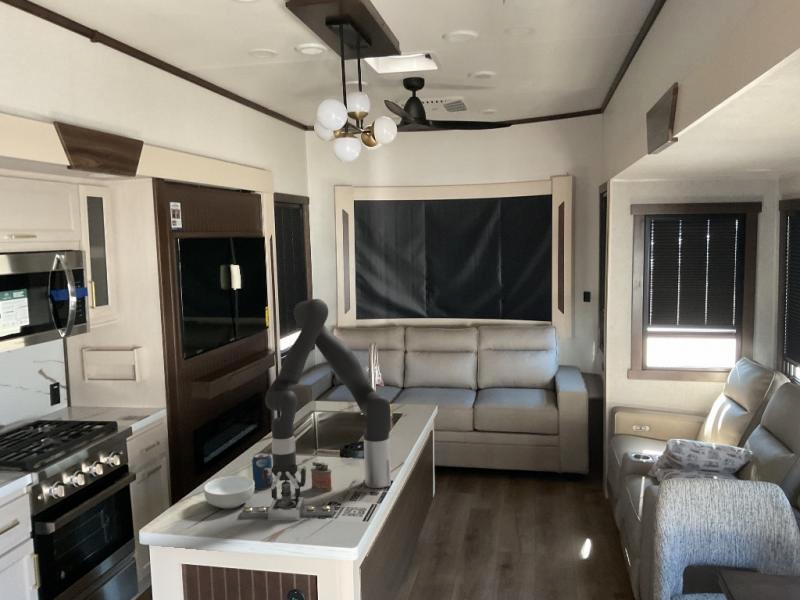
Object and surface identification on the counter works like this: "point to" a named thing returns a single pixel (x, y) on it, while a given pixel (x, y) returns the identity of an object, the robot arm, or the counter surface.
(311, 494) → the counter surface
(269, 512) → the studded gray strap
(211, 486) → the cereal bowl
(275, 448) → the robot arm
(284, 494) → the grey tall turned piece
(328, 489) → the lighter
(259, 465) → the soda can
